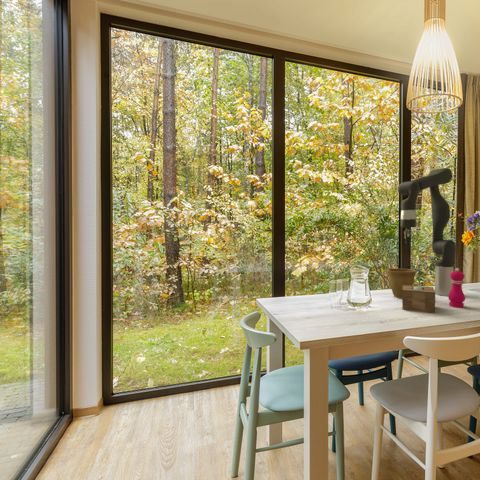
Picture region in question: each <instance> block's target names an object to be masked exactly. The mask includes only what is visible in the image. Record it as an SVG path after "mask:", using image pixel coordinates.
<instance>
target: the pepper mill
mask: <svg viewBox="0 0 480 480" xmlns="http://www.w3.org/2000/svg"><path fill="white" fill-rule="evenodd" d="M450 277H451V279H452V280H451V281H452V282H451V283H452V289H451V291H450V293H449V296H447V298H448V300H449V302H448V303H449V304H448V305H449V306H450V307H452V308H459V309H460V308H464V307H465V303H464V302H465V301H466V295H465V294H464V291H463V287H462V286H463V283H464V279H465V274H464V272H462V271H460V268H459V267H456V268H455V270H453V272H452V273H451V274H450Z"/></svg>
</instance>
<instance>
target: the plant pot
mask: <svg viewBox="0 0 480 480" xmlns="http://www.w3.org/2000/svg"><path fill="white" fill-rule="evenodd" d="M386 272H387V273H386V274H387V277H388V282H389V286H390V290H391V291H392V295H393V296H394V298H397V299H398V298H399V299H402V298H403V285H410V286H414V282H415V276H416V270H415V269H411V268H410V269H409V268H388V269H386Z"/></svg>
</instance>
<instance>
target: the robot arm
mask: <svg viewBox="0 0 480 480" xmlns="http://www.w3.org/2000/svg"><path fill="white" fill-rule="evenodd" d="M452 179H453V173H452V170H451V169H450V168H447V167H442V168H439V169H433V170H430V171H429V173H428V175H425V176H421V177H418V178H416V179H412V180H407V181H403V182H401V183H399V185H398V187H397V192H398V194H400V195H402V196H408V197H407V198H406V199H402V201H401V203H400V205H401V206H400V228H405V230H404V231H403V234H404V239H405V240H404V242H405V251H411V243H412V239H413V237H412V236H413V230H412V229H411V228H416V227H417V212H416V211H417V210H416V209H417V208H416V205H417V200H418V197H419V194H420V192H421V191H423V190H425V189H429V193H430V202H431V204H430V206H431V221H432V239H431V240H432V241H431V247H432V251H433V253H434V254H435V255H442V258H440V259H437V260H436V261H435V263H434V291H435V295H438V296H443V297H448V296H449V293H450V291H451V289H452V283H451V282H452V281H451V280H452V279H451V277H450V274H451V273H452V272H453V271H454V265H455V261H456V253H457V247H456V246H457V245H456V243H455V241H454V240H451V239H444V231H445V228H446V226H447V225H448V223H449V221H450V219H451V209H450V204H449V202H448V201H447V200H446V199H445V198H444V196H443V195H442V193H441V191H440V185H447V184H449V183H450V182H451V181H452Z"/></svg>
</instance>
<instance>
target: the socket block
mask: <svg viewBox="0 0 480 480" xmlns="http://www.w3.org/2000/svg"><path fill="white" fill-rule="evenodd" d="M414 287H422V290H418V289H414ZM401 299H402V301H401V302H402V304H401V305H402V307H401V308H402V310H404V311H413V312H423V313H432V314H435V313H436V294H435V287H433V286H424V285H423V286H422V285H421V286H420V285H413V286H410V285H403V298H401Z"/></svg>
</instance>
